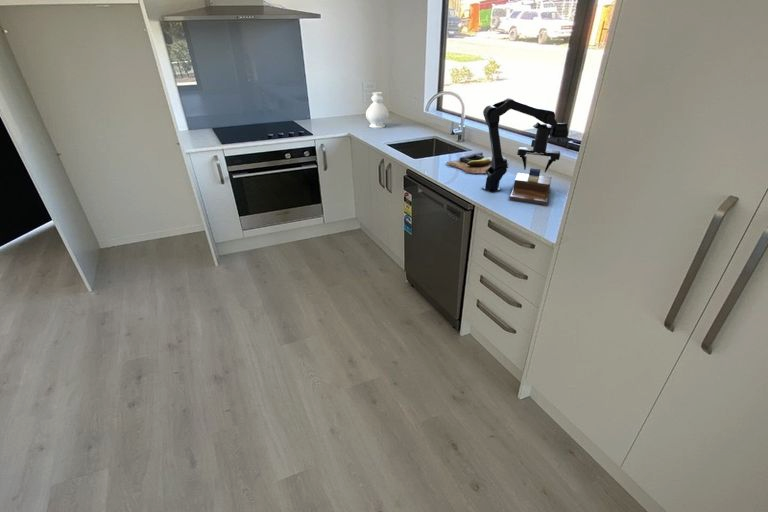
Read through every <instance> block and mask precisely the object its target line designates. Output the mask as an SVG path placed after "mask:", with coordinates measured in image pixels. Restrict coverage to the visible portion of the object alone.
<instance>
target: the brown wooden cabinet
mask: <svg viewBox="0 0 768 512" xmlns="http://www.w3.org/2000/svg"><path fill="white" fill-rule="evenodd" d="M528 177H529V173H523V172H517V174H516V177H515V179H514V182H513V188H512V191H511V193H510V195H509V201H511V202H519V203H526V204H532V205H537V206H543V207H545V206H547V203H548V197H549V192H550V188H551V184H552V176H547V175H539V179H538V182H535V181H528Z"/></svg>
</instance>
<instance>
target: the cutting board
mask: <svg viewBox="0 0 768 512" xmlns="http://www.w3.org/2000/svg"><path fill="white" fill-rule="evenodd" d="M484 158H485V159H481V160H474V161H470V162H468V163H464V162H460V161H459V159H457V160H450V161H447V162H446V164H447V165H449V166H451V167H455V168H458V169H461V170H462V171H463V172H465V173H469V174H486V170H487V169H488V168H490V167H491V163H489V162H490V160H492V156H491V157H489V156H488V157H487V156H486V157H485V156H484Z"/></svg>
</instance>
